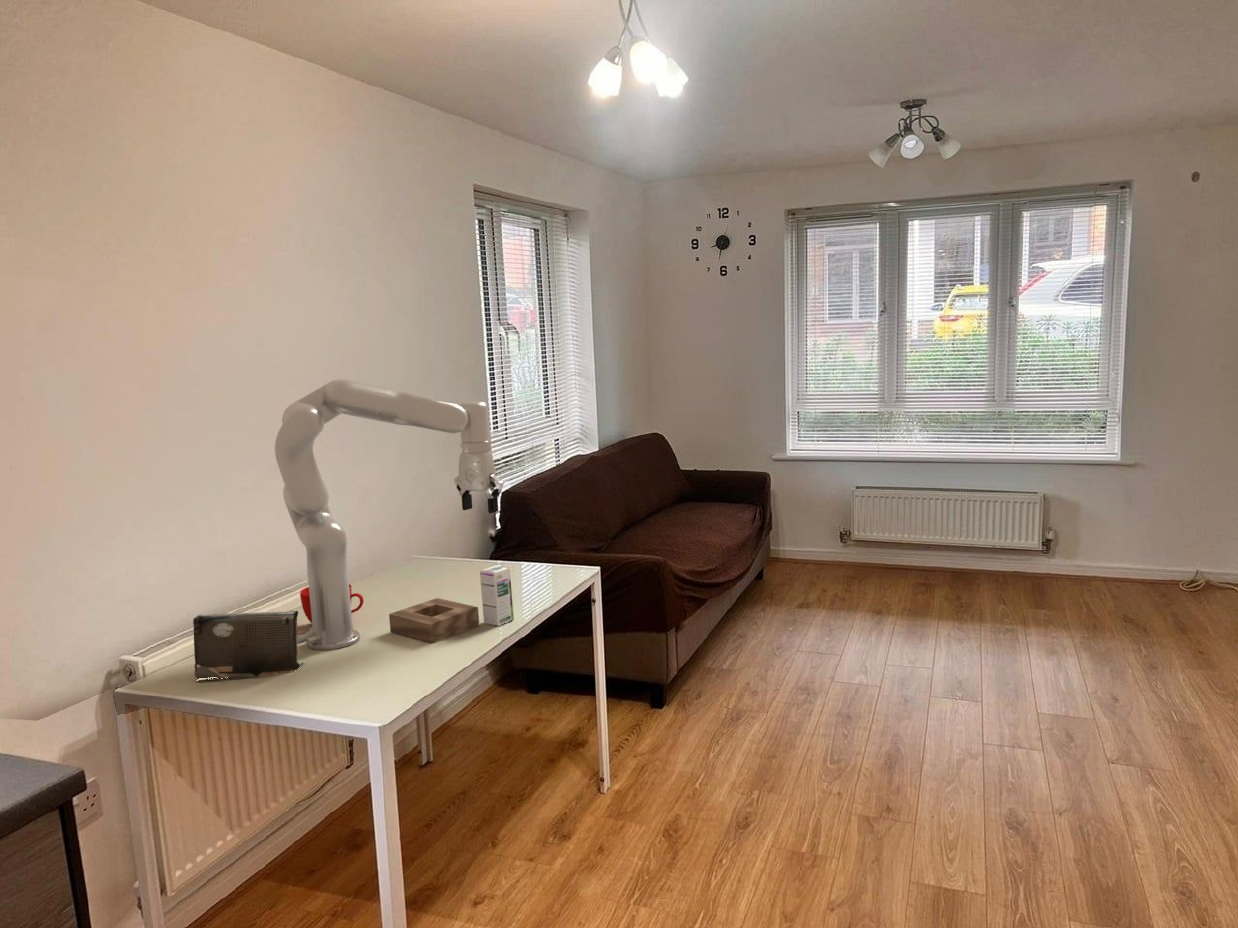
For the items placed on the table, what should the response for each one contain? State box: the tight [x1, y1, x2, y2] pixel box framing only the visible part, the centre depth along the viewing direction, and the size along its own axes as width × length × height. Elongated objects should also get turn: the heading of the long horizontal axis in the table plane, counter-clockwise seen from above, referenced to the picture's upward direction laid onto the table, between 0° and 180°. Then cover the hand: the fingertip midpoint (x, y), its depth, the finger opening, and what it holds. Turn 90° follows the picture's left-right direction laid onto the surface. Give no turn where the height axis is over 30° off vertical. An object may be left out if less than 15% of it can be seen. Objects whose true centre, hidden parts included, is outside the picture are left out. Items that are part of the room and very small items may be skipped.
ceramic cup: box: [299, 583, 364, 624], centre depth 232 cm, size 13×17×10 cm
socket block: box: [388, 597, 480, 645], centre depth 226 cm, size 16×16×5 cm
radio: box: [192, 610, 302, 681], centre depth 200 cm, size 23×9×15 cm, turn 95°
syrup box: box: [479, 564, 515, 627], centre depth 229 cm, size 6×6×14 cm
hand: (480, 510), depth 235 cm, fingers open, 9 cm apart
